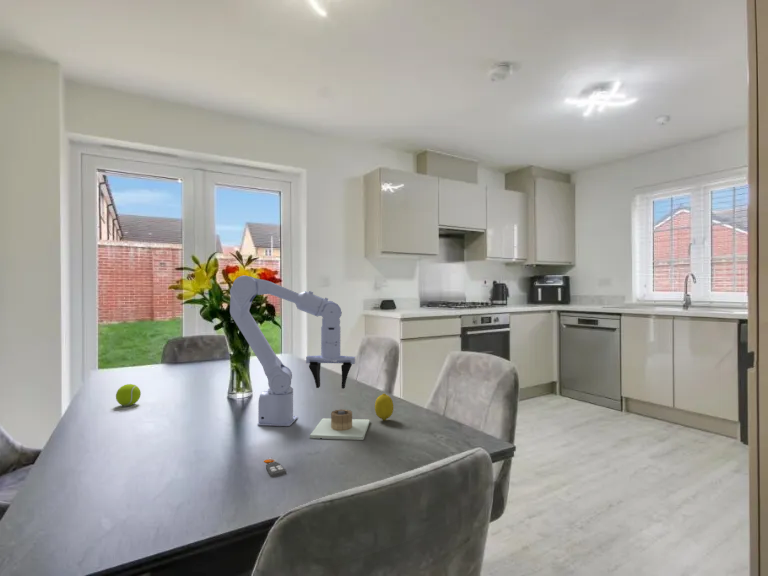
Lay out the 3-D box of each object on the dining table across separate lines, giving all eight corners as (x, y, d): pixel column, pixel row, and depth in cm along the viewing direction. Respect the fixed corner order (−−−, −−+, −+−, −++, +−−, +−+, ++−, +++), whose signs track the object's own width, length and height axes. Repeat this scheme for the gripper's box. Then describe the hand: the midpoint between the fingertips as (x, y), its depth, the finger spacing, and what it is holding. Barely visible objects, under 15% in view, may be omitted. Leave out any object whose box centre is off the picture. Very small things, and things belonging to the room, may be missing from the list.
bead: (329, 430, 112) (329, 415, 112) (333, 423, 117) (333, 409, 117) (350, 430, 111) (350, 415, 111) (353, 424, 117) (353, 409, 117)
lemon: (391, 424, 119) (391, 396, 119) (372, 423, 120) (372, 395, 120) (394, 418, 125) (394, 391, 125) (377, 417, 126) (377, 390, 126)
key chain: (288, 476, 88) (288, 469, 88) (270, 480, 86) (270, 472, 86) (271, 454, 99) (271, 448, 99) (255, 457, 97) (255, 451, 97)
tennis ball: (144, 402, 142) (144, 382, 142) (133, 408, 135) (133, 386, 135) (124, 402, 141) (124, 382, 141) (111, 408, 134) (111, 387, 134)
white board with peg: (310, 438, 108) (310, 418, 108) (322, 420, 122) (322, 403, 122) (363, 439, 107) (363, 420, 107) (369, 422, 121) (369, 405, 121)
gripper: (303, 343, 121) (303, 390, 121) (352, 344, 119) (352, 391, 119) (309, 340, 128) (309, 384, 128) (356, 340, 126) (356, 385, 126)
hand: (330, 387), depth 124 cm, fingers open, 7 cm apart
